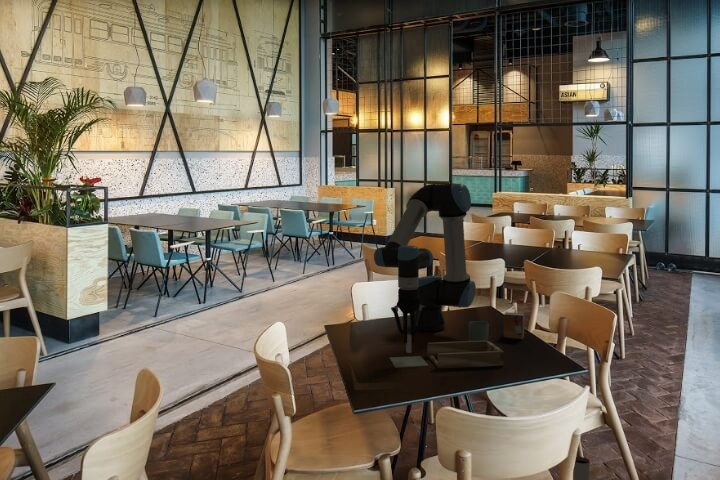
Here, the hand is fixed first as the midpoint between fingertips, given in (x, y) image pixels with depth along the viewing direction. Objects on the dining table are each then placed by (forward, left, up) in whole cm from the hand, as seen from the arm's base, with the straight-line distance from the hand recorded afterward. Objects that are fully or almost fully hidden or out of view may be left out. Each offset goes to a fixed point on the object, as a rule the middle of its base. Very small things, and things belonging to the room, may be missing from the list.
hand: (408, 351), depth 217 cm
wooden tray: (+1, +21, -4) cm, 21 cm away
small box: (-29, +52, -4) cm, 60 cm away
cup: (-16, +32, -4) cm, 36 cm away
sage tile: (0, 0, -4) cm, 4 cm away
